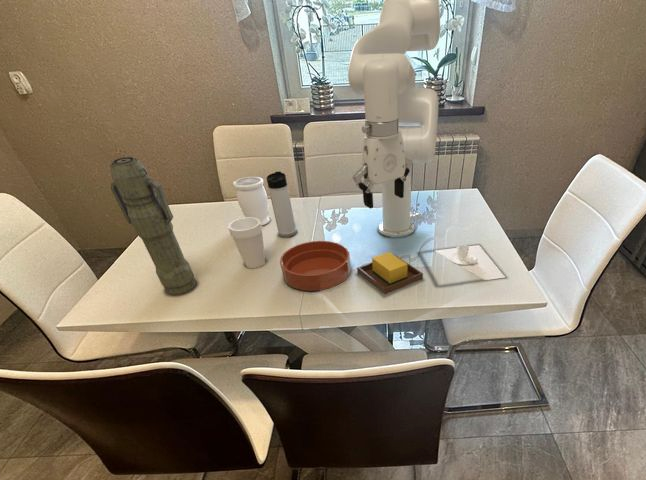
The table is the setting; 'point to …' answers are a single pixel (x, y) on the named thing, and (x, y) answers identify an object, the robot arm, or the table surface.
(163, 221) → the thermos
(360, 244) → the table surface
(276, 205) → the travel mug
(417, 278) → the tray
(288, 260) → the terracotta plant saucer
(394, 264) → the sponge
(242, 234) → the foam cup
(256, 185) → the jar
